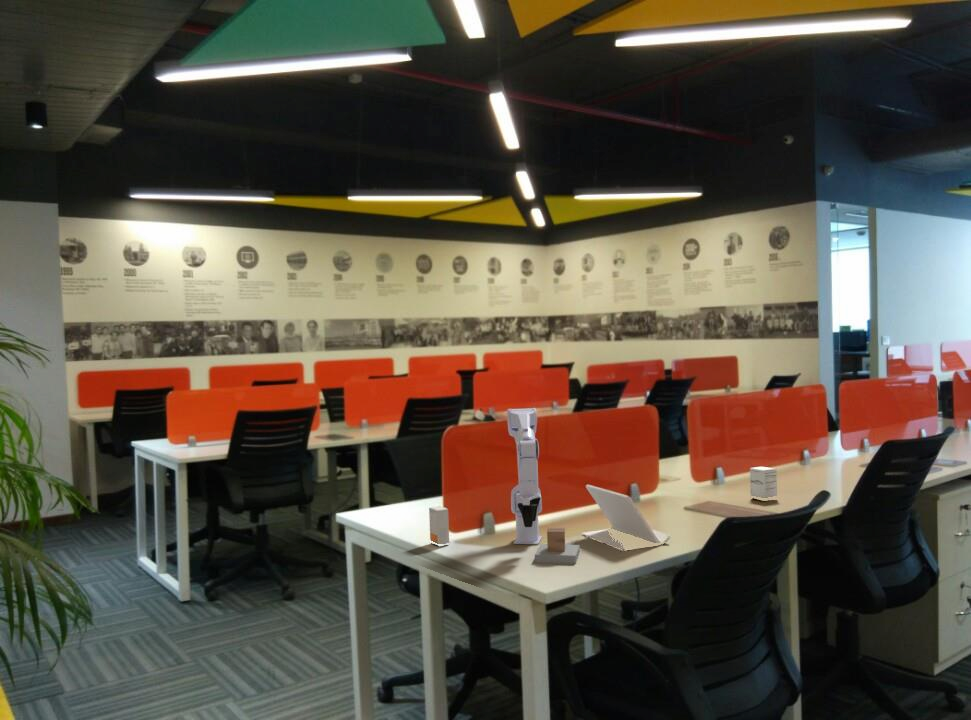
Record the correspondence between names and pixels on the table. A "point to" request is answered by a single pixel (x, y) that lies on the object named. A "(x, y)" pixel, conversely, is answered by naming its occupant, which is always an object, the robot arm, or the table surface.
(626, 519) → the tablet stand
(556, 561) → the slate block
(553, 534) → the walnut block
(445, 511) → the skincare box
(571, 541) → the table surface
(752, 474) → the supplement box
